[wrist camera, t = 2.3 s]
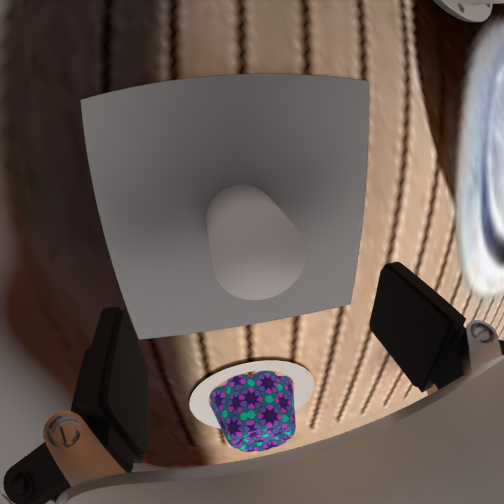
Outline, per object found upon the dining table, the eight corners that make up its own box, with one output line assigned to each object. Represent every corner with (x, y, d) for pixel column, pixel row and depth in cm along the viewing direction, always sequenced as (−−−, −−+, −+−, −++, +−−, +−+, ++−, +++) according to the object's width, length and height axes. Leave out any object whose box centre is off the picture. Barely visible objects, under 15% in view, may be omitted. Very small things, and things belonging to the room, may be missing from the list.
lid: (86, 100, 12) (36, 99, 7) (359, 81, 15) (425, 80, 10) (140, 330, 20) (133, 395, 15) (345, 296, 22) (382, 347, 17)
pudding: (293, 333, 23) (316, 383, 18) (321, 397, 28) (338, 435, 24) (163, 383, 23) (164, 434, 18) (222, 433, 29) (230, 472, 24)
